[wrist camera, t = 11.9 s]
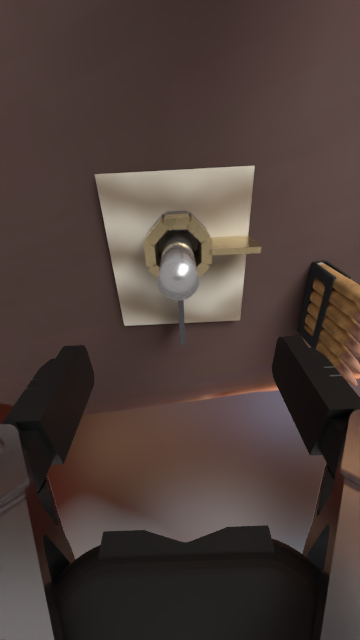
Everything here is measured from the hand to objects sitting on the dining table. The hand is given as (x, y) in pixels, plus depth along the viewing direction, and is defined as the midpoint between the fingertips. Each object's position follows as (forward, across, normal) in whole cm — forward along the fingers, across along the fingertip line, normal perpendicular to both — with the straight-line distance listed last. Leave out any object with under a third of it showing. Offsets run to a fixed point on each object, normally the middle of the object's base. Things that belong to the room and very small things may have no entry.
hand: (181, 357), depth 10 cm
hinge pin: (+20, 0, 0) cm, 20 cm away
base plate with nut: (+22, 0, +2) cm, 22 cm away
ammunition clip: (+22, -18, +9) cm, 30 cm away
